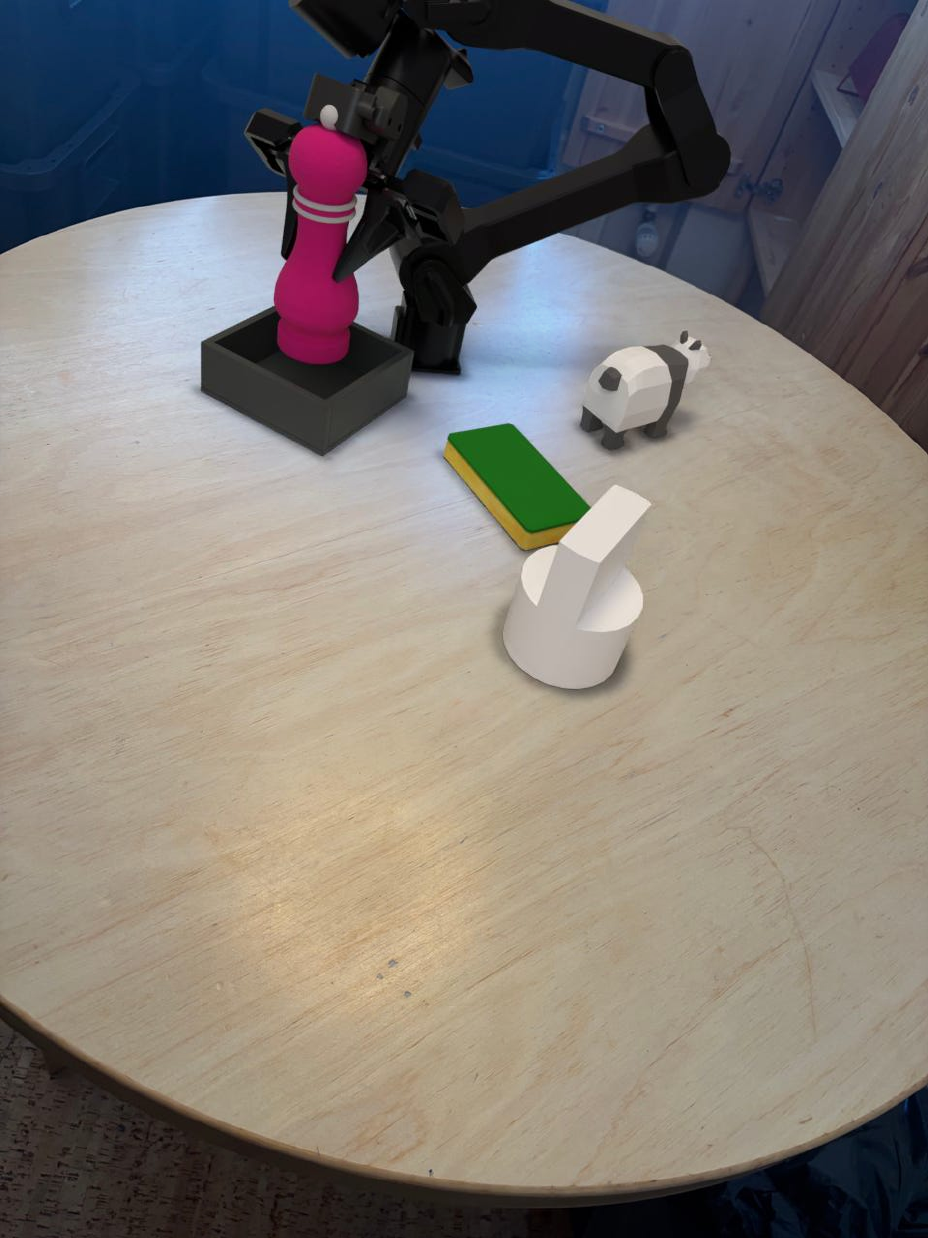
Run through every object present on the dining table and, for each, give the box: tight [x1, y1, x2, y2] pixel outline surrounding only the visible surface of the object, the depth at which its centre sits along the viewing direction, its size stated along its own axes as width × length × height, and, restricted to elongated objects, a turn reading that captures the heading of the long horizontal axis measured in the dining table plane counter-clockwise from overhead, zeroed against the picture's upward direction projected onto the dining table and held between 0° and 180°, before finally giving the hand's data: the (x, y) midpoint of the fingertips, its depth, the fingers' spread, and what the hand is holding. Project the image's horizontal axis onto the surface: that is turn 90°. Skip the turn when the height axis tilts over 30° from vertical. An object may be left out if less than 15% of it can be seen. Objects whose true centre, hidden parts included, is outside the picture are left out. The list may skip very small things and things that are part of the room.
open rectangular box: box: [200, 304, 414, 457], centre depth 87 cm, size 14×14×5 cm
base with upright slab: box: [502, 484, 652, 690], centre depth 68 cm, size 9×9×12 cm
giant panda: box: [579, 330, 713, 451], centre depth 93 cm, size 15×6×10 cm, turn 126°
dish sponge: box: [443, 422, 592, 551], centre depth 83 cm, size 7×14×2 cm, turn 31°
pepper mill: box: [273, 105, 367, 364], centre depth 77 cm, size 7×7×20 cm
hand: (309, 269), depth 78 cm, fingers closed on pepper mill, 5 cm apart
